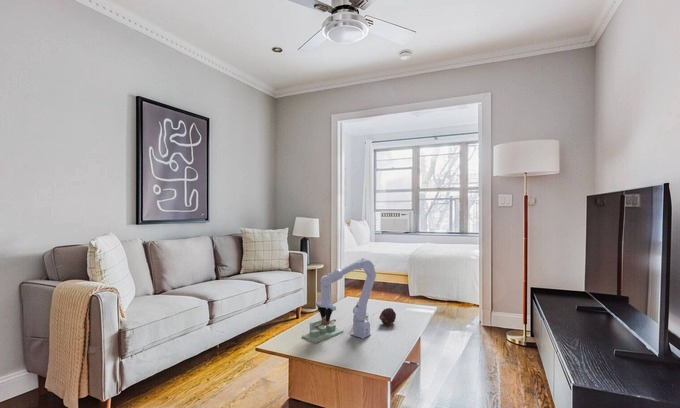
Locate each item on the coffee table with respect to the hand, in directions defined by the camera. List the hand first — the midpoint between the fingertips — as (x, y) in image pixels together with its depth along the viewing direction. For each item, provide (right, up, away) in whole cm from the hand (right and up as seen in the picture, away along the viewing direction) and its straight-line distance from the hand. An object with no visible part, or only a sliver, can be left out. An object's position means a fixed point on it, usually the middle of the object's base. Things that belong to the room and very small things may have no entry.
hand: (325, 320), depth 204 cm
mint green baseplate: (-2, -9, +2) cm, 9 cm away
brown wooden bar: (0, -2, 0) cm, 2 cm away
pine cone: (+39, -9, +20) cm, 45 cm away
